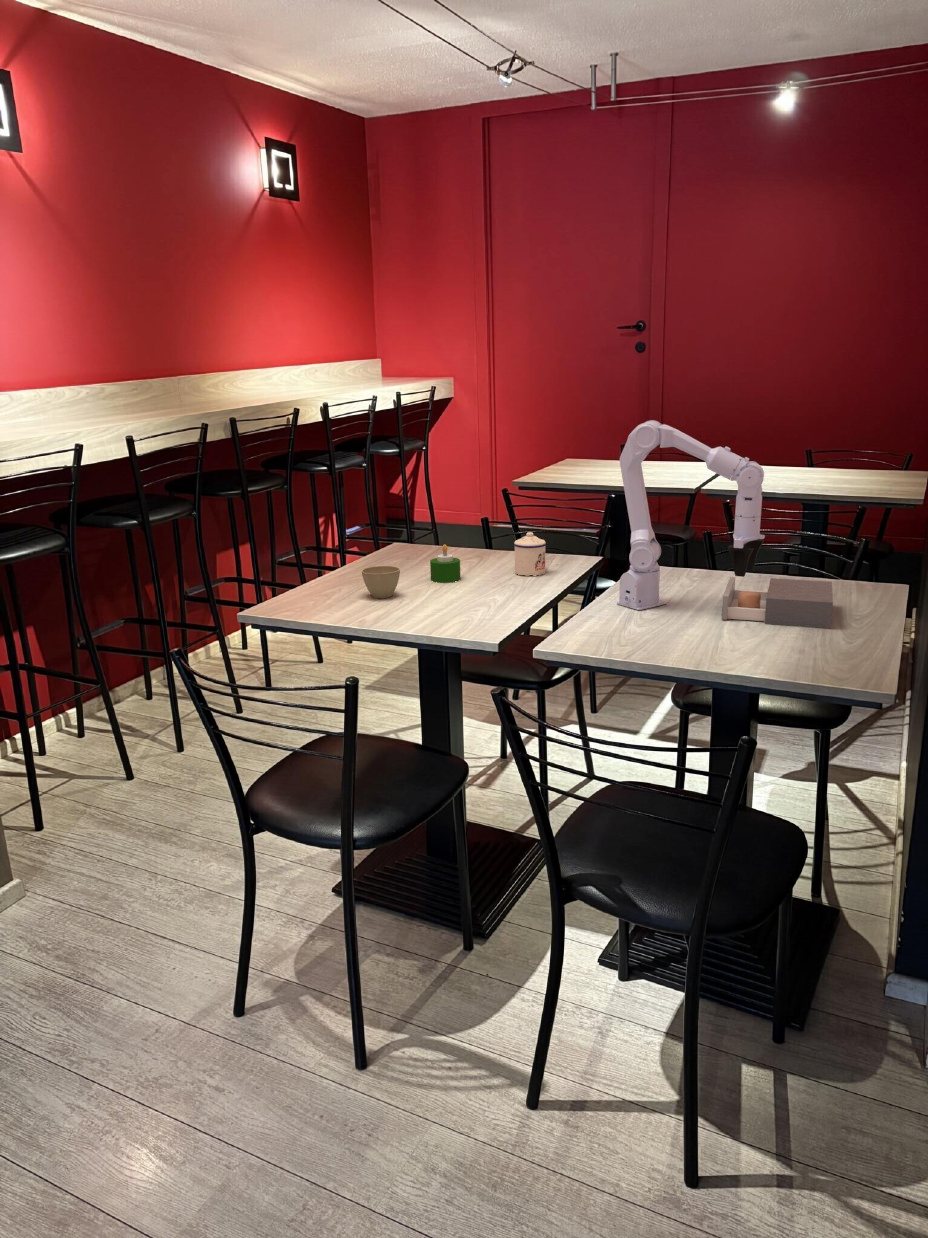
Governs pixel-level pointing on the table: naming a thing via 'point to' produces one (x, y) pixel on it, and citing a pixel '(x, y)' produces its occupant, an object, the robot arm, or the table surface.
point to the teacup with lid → (529, 555)
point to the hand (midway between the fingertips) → (744, 572)
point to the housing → (799, 603)
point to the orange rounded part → (749, 599)
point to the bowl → (381, 580)
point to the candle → (445, 568)
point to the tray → (735, 612)
